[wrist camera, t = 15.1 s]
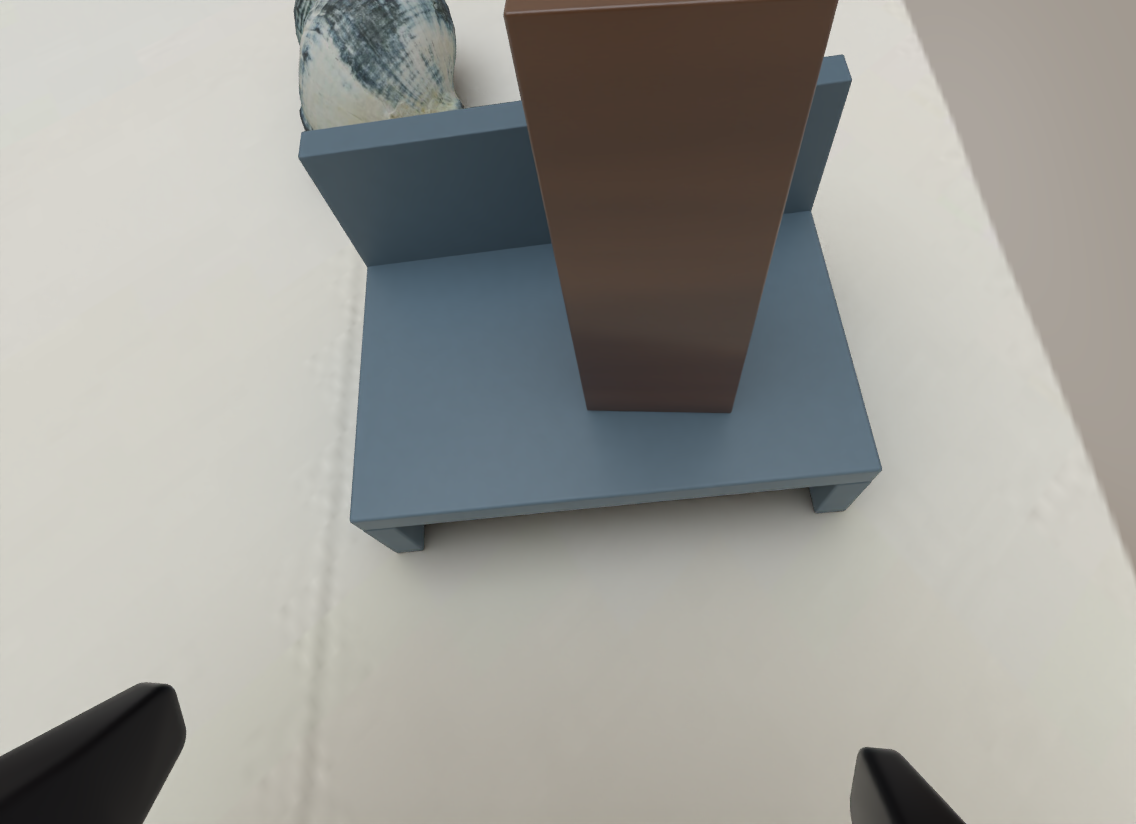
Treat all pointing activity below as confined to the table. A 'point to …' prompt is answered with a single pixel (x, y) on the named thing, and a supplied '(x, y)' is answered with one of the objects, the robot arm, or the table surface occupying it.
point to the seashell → (374, 60)
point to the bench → (559, 342)
